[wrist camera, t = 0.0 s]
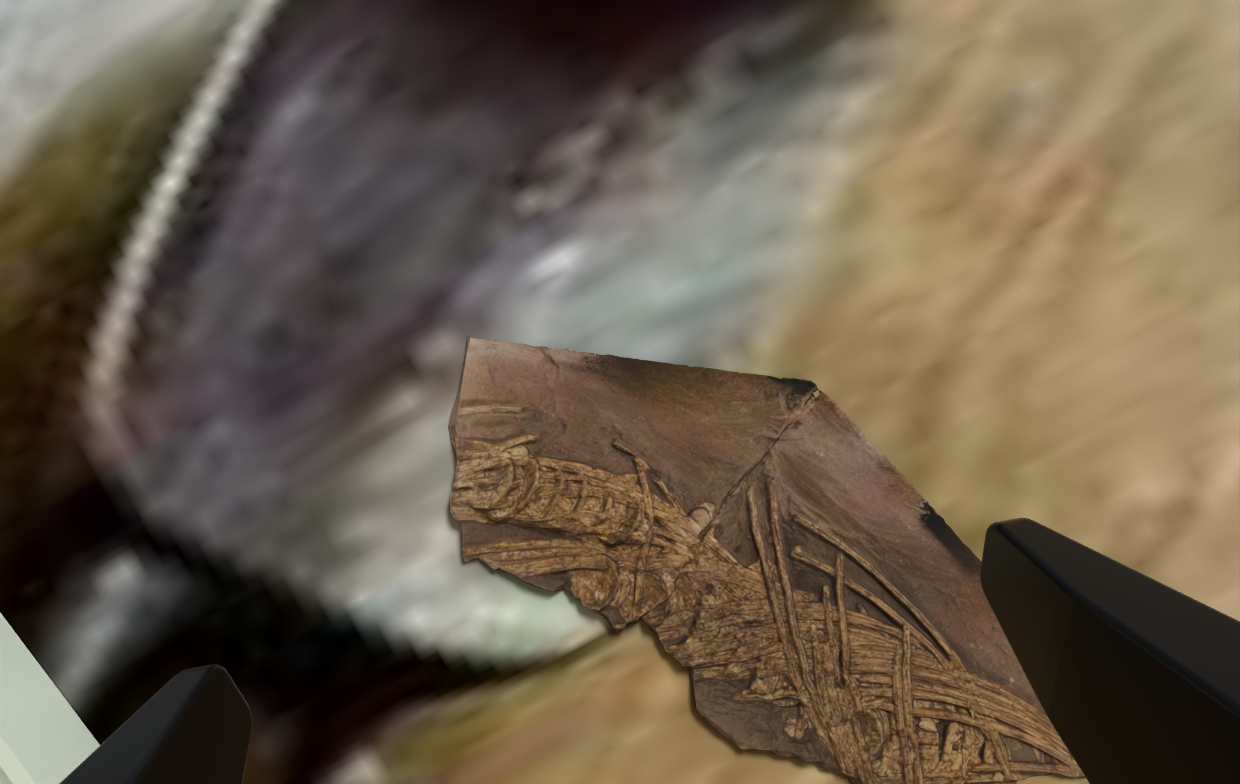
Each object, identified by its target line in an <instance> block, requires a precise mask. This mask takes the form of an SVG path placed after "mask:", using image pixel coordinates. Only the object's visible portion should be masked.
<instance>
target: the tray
mask: <svg viewBox="0 0 1240 784" xmlns="http://www.w3.org/2000/svg"><path fill="white" fill-rule="evenodd" d="M99 746H100V745H99V743H98V742H97V741H96V739H95V738H94V737H93V735H92V734H91V733H90V731H89V730H88V729H87V727H86V726H85V725H84V723H83V722H82V721H81V719H80V718H79V717H78V715H77V714H76V713H75V711H74V710H73V709H72V707H71V706H70V705H69V703H68V702H67V701H66V699H65V698H64V697H63V695H62V694H61V693H60V691H59V690H58V689H57V687H56V686H55V685H54V683H53V682H52V681H51V679H50V678H49V677H48V675H47V674H46V673H45V671H44V670H43V669H42V667H41V666H40V665H39V663H38V662H37V661H36V659H35V658H34V657H33V655H32V654H31V653H30V651H29V650H28V649H27V648H26V646H25V645H24V644H23V642H22V641H21V640H20V638H19V637H18V636H17V634H16V633H15V632H14V630H13V629H12V628H11V626H10V625H9V624H8V622H7V621H6V620H5V618H4V617H3V616H2V614H1V613H0V784H59V783H61V782H62V781H63V780H64V779H65V778H66V777H67V776H68V775H69V774H70V773H71V772H72V771H73V770H74V769H76V768H77V767H78V766H79V765H80V764H81V763H82V762H83V761H84V760H85V759H86V758H87V757H88V756H89V755H91V754H92V753H93V752H94V751H95V750H96V749H97V748H98V747H99Z"/></svg>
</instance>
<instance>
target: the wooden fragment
mask: <svg viewBox="0 0 1240 784" xmlns="http://www.w3.org/2000/svg"><path fill="white" fill-rule="evenodd" d="M817 390H818V388H817V386H816V384H814V383H813V382H811V381H807V380H800V379H793V378H792V379H788V378H782V379H779V378H775V377H772V376H765V375H757V374H747V373H739V372H731V371H724V370H718V369H710V368H703V367H688V366H687V365H674V364H669V363H662V362H654V361H647V360H639V359H631V358H623V357H617V356H613V355H598V354H594V353H587V352H578V353H576V352H575V351H569V350H568V349H557V350H553V349H552V348H547V347H534V346H530V345H526V344H516V343H510V342H497V341H495V340H483V339H477V338H470V337H468V336H467V343H466V353H465V358H464V363H463V369H462V373H461V378H460V383H459V389H458V393H457V397H456V400H455V403H454V406H453V408H452V411H451V415H450V419H449V426H448V429H449V434H450V440H451V443H452V446H453V449H454V451H455V454H456V457H457V465H456V470H455V474H454V477H455V482H454V484H453V488H452V492H451V494H450V510H451V514H452V515H453V517H454V518H455V520H456V521H458V522H460V523H462V537H463V560H464V561H465V562H466V561H471V560H474V559H480V560H481V561H483V562H484V563H486V564H487V565H488V566H489V567H490V568H491V569H493V570H497V569H501V570H502V571H504V572H508V573H511V574H514V575H516V576H517V577H519V578H520V579H521V580H522V581H524V582H526V583H528V584H531V585H534V586H536V587H539V588H541V589H547V590H551V591H556V590H561V589H563V588H564V589H565V590H567V591H569V592H571V594H572V596H573V598H578V599H580V600H581V603H582V605H583V606H585V607H588V608H590V609H592V610H594V611H596V612H598V613H599V614H601V615H602V616H604V618H605V619H606V620H607V621H608V622H609V623H610V625H611V626H612V627H613V628H614V629H616V630H617V631H619V632H620V631H621V630H622V629H624V628H625V626H626V625H628V624H630V623H632V622H634V621H636V620H638V619H640V618H642V619H643V620H644V621H645V622H646V623H647V625H648V626H649V628H650V629H651V630H652V631H653V632H654V633H655V634H656V635H658V638H659V640H660V642H661V643H662V645H663V647H664V649H665V651H666V652H667V653H669V654H670V655H671V656H672V657H673V658H675V659H677V660H678V661H679V662H680V663H681V664H682V666H688V667H690V674H691V678H692V681H693V689H694V694H695V699H696V709H697V711H698V712H699V713H700V714H701V715H702V716H703V717H704V718H705V719H706V720H707V721H708V722H709V723H710V724H711V725H712V726H713V727H714V728H715V729H716V730H718V731H719V732H720V733H722V734H723V735H725V736H726V737H728V738H729V739H731V740H732V741H733V742H734V743H735V744H736V745H737V746H739V747H740V748H741V749H743V750H745V749H750V748H751V749H758V750H769V751H771V752H773V753H775V754H777V755H779V756H785V757H794V758H796V759H798V760H800V761H802V762H805V763H810V762H816V763H819V764H820V765H821V766H822V768H824V769H827V770H830V771H834V772H839V773H841V774H843V775H844V776H846V777H849V778H850V780H851V783H852V784H969V783H977V782H993V781H997V782H1005V781H1014V780H1022V779H1025V778H1028V777H1030V776H1037V775H1050V774H1051V773H1058V774H1062V775H1065V776H1069V777H1084V776H1085V775H1084V774H1083V772H1082V771H1081V769H1080V768H1079V766H1078V765H1077V763H1076V761H1075V760H1074V758H1073V757H1072V755H1071V754H1070V752H1069V751H1068V749H1067V747H1066V746H1065V744H1064V743H1063V741H1062V740H1061V738H1060V737H1059V735H1058V733H1057V732H1056V730H1055V728H1054V727H1053V725H1052V723H1051V722H1050V720H1049V719H1048V717H1047V715H1046V713H1045V712H1044V710H1043V708H1042V706H1041V704H1040V702H1039V700H1038V699H1037V697H1036V695H1035V693H1034V691H1033V689H1032V687H1031V685H1030V683H1029V681H1028V679H1027V677H1026V675H1025V673H1024V671H1023V669H1022V667H1021V665H1020V663H1019V661H1018V659H1017V657H1016V655H1015V653H1014V652H1013V650H1012V648H1011V646H1010V644H1009V642H1008V640H1007V638H1006V636H1005V634H1004V632H1003V630H1002V628H1001V626H1000V624H999V622H998V620H997V618H996V616H995V614H994V612H993V610H992V608H991V606H990V604H989V602H988V600H987V598H986V596H985V594H984V592H983V589H982V585H981V580H980V570H981V564H982V562H981V561H980V560H979V559H978V558H977V557H976V556H975V555H974V554H973V553H972V551H971V550H970V549H969V548H968V547H967V546H966V545H965V544H963V543H962V541H961V540H960V539H959V538H958V536H957V535H956V534H955V533H954V532H953V530H952V529H951V528H950V527H949V526H948V525H947V524H946V523H945V521H944V519H943V518H942V517H941V516H939V515H938V514H937V513H936V512H935V510H934V509H933V508H932V507H931V506H930V505H929V503H928V502H927V501H926V500H925V499H924V498H923V497H922V496H921V495H920V494H919V493H918V492H917V491H916V489H915V488H914V487H913V486H912V485H911V484H910V483H909V482H908V481H907V480H906V479H905V478H904V476H903V475H902V474H900V473H899V472H898V470H897V469H896V468H895V467H894V466H893V465H892V464H891V463H890V462H889V460H888V459H887V458H886V456H885V455H883V454H882V453H881V452H880V451H879V450H877V449H876V448H874V447H873V446H872V445H871V443H870V442H868V441H866V440H865V435H861V434H858V433H859V432H860V431H861V430H860V429H859V428H858V427H857V426H856V425H855V424H854V423H853V422H852V420H851V419H850V418H849V417H848V416H847V415H846V414H845V413H844V412H843V411H842V410H841V409H840V408H839V407H838V405H837V404H836V403H835V402H834V401H833V400H831V399H830V398H829V397H828V396H827V395H826V394H824V393H823V392H822V391H820V390H818V391H819V394H820V395H819V396H818V397H817V398H815V401H813V402H811V403H810V405H809V406H808V407H806V406H804V404H805V401H806V400H807V399H808V398H809V397H810V396H812V397H814V395H813V392H815V391H817Z"/></svg>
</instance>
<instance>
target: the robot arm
mask: <svg viewBox="0 0 1240 784" xmlns="http://www.w3.org/2000/svg"><path fill="white" fill-rule="evenodd" d="M980 580H981V585H982V589H983V592H984V594H985V596H986V598H987V600H988V602H989V604H990V606H991V608H992V610H993V612H994V614H995V616H996V618H997V620H998V622H999V624H1000V626H1001V628H1002V630H1003V632H1004V634H1005V636H1006V638H1007V640H1008V642H1009V644H1010V646H1011V648H1012V650H1013V652H1014V653H1015V655H1016V657H1017V659H1018V661H1019V663H1020V665H1021V667H1022V669H1023V671H1024V673H1025V675H1026V677H1027V679H1028V681H1029V683H1030V685H1031V687H1032V689H1033V691H1034V693H1035V695H1036V697H1037V699H1038V700H1039V702H1040V704H1041V706H1042V708H1043V710H1044V712H1045V713H1046V715H1047V717H1048V719H1049V720H1050V722H1051V723H1052V725H1053V727H1054V728H1055V730H1056V732H1057V733H1058V735H1059V737H1060V738H1061V740H1062V741H1063V743H1064V744H1065V746H1066V747H1067V749H1068V751H1069V752H1070V754H1071V755H1072V757H1073V758H1074V760H1075V761H1076V763H1077V765H1078V766H1079V768H1080V769H1081V771H1082V772H1083V774H1084V775H1085V777H1086V779H1087V780H1088V782H1089V783H1090V784H1240V622H1239V621H1237V620H1235V619H1233V618H1231V617H1229V616H1227V615H1225V614H1223V613H1221V612H1219V611H1217V610H1215V609H1213V608H1211V607H1209V606H1207V605H1205V604H1203V603H1201V602H1199V601H1197V600H1195V599H1192V598H1190V597H1188V596H1186V595H1184V594H1182V593H1180V592H1178V591H1176V590H1174V589H1172V588H1170V587H1168V586H1166V585H1164V584H1162V583H1160V582H1158V581H1156V580H1154V579H1152V578H1150V577H1148V576H1146V575H1143V574H1141V573H1139V572H1137V571H1135V570H1133V569H1131V568H1129V567H1127V566H1125V565H1123V564H1121V563H1119V562H1117V561H1115V560H1113V559H1111V558H1109V557H1107V556H1105V555H1103V554H1101V553H1099V552H1096V551H1094V550H1092V549H1090V548H1088V547H1086V546H1084V545H1082V544H1080V543H1078V542H1076V541H1074V540H1072V539H1070V538H1068V537H1066V536H1064V535H1062V534H1060V533H1058V532H1056V531H1054V530H1052V529H1050V528H1047V527H1045V526H1043V525H1041V524H1039V523H1037V522H1035V521H1033V520H1030V519H1027V518H1017V519H1011V520H1006V521H1000V522H995V523H993V524H991V525H990V526H989V528H988V529H987V532H986V537H985V543H984V550H983V557H982V564H981V570H980ZM251 733H252V714H251V711H250V708H249V706H248V704H247V702H246V701H245V699H244V697H243V696H242V694H241V693H240V691H239V690H238V688H237V686H236V685H235V683H234V682H233V680H232V679H231V677H230V675H229V674H228V672H227V671H226V670H225V668H223V667H221V666H220V665H214V664H213V665H208V666H202V667H197V668H191V669H186V670H184V671H181V672H180V673H178V674H177V675H175V676H174V677H173V678H172V679H171V680H170V681H169V682H168V683H167V684H166V685H164V686H163V687H162V688H161V689H160V690H159V691H158V692H157V693H156V694H155V695H154V696H153V697H152V698H151V699H149V700H148V701H147V702H146V703H145V704H144V705H143V706H142V707H141V708H140V709H139V710H138V711H137V712H136V713H134V714H133V715H132V716H131V717H130V718H129V719H128V720H127V721H126V722H125V723H124V724H123V725H122V726H121V727H119V728H118V729H117V730H116V731H115V732H114V733H113V734H112V735H111V736H110V737H109V738H108V739H107V740H106V741H104V742H103V743H102V744H101V745H100V746H99V747H98V748H97V749H96V750H95V751H94V752H93V753H92V754H91V755H89V756H88V757H87V758H86V759H85V760H84V761H83V762H82V763H81V764H80V765H79V766H78V767H77V768H76V769H74V770H73V771H72V772H71V773H70V774H69V775H68V776H67V777H66V778H65V779H64V780H63V781H62V782H61V783H59V784H242V783H243V778H244V772H245V766H246V761H247V755H248V750H249V744H250V739H251Z"/></svg>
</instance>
